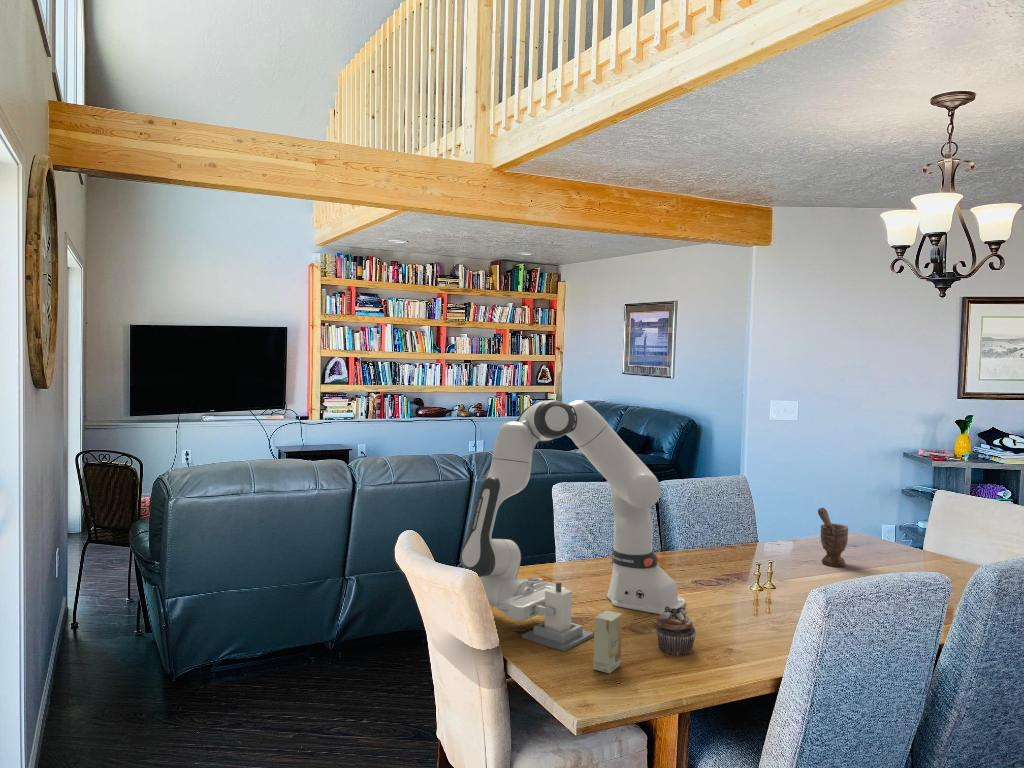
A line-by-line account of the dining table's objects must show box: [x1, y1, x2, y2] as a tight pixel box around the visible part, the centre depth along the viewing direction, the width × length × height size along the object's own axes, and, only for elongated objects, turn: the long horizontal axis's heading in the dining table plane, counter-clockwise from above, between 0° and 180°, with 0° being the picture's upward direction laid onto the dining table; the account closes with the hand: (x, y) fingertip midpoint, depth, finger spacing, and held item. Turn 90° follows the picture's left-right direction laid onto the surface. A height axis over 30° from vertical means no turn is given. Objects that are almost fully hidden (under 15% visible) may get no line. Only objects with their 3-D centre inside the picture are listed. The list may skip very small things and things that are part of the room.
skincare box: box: [592, 610, 623, 674], centre depth 176 cm, size 6×4×12 cm
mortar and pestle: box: [817, 507, 849, 568], centre depth 259 cm, size 12×9×20 cm
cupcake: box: [655, 606, 697, 656], centre depth 187 cm, size 10×10×10 cm
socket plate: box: [521, 620, 594, 652], centre depth 194 cm, size 13×13×3 cm
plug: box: [544, 581, 573, 633], centre depth 194 cm, size 5×4×12 cm
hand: (561, 609), depth 193 cm, fingers closed on plug, 4 cm apart
